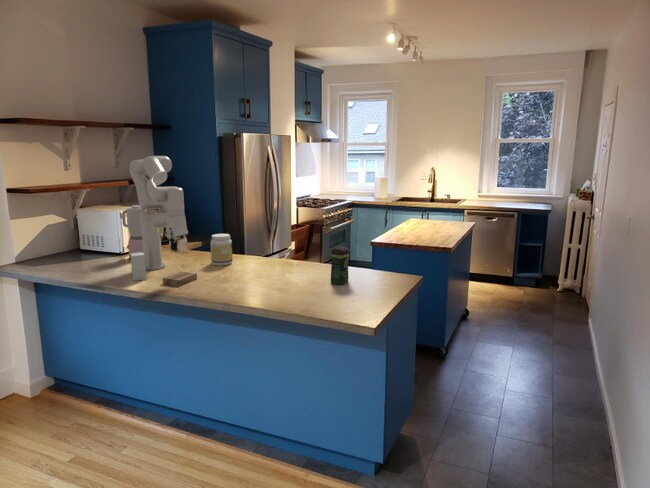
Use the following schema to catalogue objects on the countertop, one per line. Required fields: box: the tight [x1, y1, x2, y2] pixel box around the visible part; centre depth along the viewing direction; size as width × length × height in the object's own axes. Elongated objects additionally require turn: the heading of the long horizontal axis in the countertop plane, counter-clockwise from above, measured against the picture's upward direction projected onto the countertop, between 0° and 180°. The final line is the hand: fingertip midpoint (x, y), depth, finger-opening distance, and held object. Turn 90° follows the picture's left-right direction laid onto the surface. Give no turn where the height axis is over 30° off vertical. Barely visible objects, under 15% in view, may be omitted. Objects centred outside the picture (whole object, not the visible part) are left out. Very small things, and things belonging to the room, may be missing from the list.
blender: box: [121, 204, 148, 260], centre depth 288 cm, size 16×12×32 cm
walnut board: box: [162, 271, 198, 287], centre depth 240 cm, size 10×14×3 cm
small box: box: [130, 252, 147, 282], centre depth 244 cm, size 8×6×13 cm
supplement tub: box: [209, 233, 233, 267], centre depth 277 cm, size 12×12×17 cm
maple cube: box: [168, 237, 188, 254], centre depth 237 cm, size 6×6×6 cm
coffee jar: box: [330, 245, 350, 285], centre depth 239 cm, size 10×8×19 cm
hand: (178, 248), depth 237 cm, fingers closed on maple cube, 6 cm apart
